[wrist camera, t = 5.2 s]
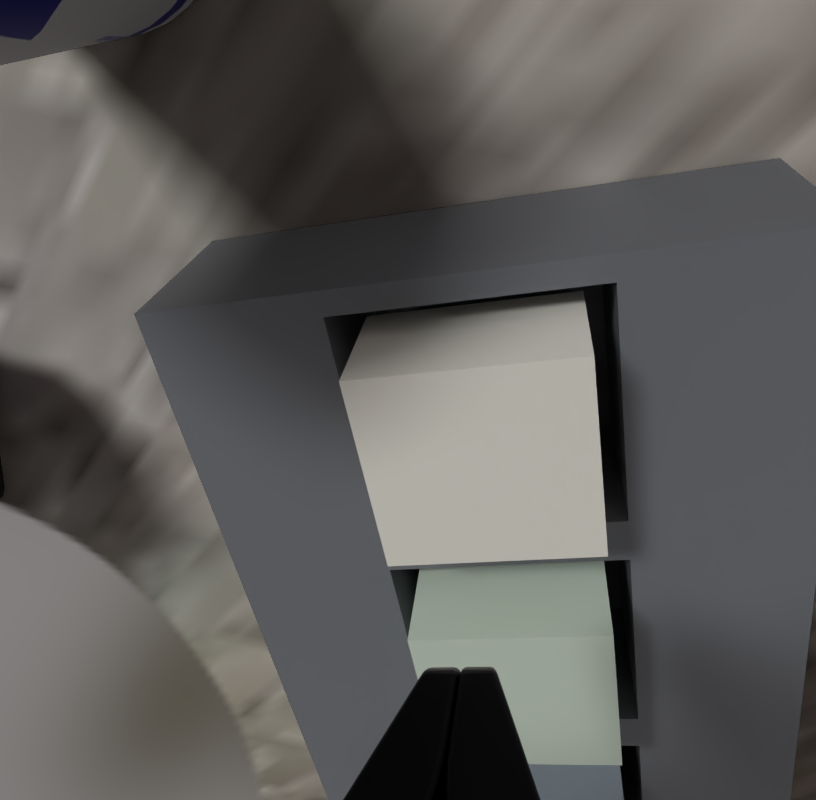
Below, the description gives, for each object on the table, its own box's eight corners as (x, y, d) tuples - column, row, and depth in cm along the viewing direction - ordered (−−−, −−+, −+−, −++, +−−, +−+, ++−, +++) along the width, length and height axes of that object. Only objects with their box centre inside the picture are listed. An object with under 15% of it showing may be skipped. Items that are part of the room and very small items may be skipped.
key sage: (602, 545, 16) (613, 635, 14) (611, 669, 18) (622, 765, 16) (421, 554, 17) (407, 640, 15) (449, 672, 19) (439, 762, 17)
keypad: (780, 157, 14) (858, 222, 11) (737, 846, 26) (769, 980, 23) (212, 241, 17) (134, 313, 14) (406, 835, 29) (390, 954, 25)
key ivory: (583, 290, 13) (594, 356, 11) (596, 471, 15) (607, 556, 13) (366, 316, 14) (338, 381, 12) (406, 484, 16) (387, 566, 14)
